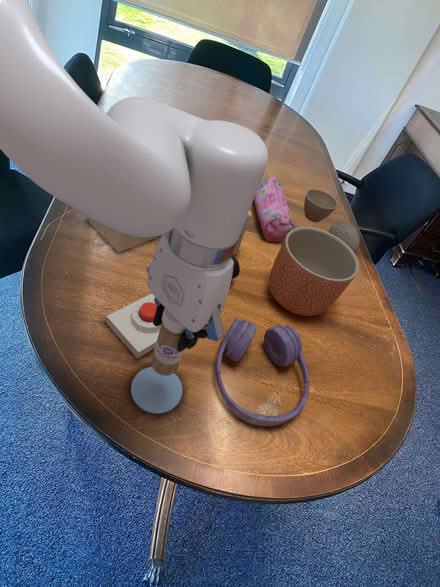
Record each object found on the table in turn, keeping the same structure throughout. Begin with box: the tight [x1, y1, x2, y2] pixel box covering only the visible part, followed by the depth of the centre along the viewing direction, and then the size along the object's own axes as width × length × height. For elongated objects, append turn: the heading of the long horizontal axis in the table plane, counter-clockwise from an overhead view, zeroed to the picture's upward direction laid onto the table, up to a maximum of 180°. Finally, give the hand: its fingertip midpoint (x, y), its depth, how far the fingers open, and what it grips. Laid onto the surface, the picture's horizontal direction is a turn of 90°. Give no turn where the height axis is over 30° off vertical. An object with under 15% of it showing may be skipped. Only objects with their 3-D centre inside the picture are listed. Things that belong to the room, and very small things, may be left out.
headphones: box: [214, 317, 311, 427], centre depth 73 cm, size 18×8×20 cm
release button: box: [139, 302, 157, 322], centre depth 73 cm, size 4×4×2 cm
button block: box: [105, 292, 161, 359], centre depth 75 cm, size 12×10×4 cm
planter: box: [268, 226, 360, 317], centre depth 88 cm, size 17×17×15 cm
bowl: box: [303, 188, 339, 223], centre depth 118 cm, size 10×10×7 cm
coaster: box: [130, 366, 183, 415], centre depth 68 cm, size 9×9×1 cm
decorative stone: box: [327, 221, 360, 255], centre depth 107 cm, size 10×8×10 cm
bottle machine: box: [88, 217, 163, 253], centre depth 88 cm, size 13×12×16 cm
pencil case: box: [253, 175, 296, 242], centre depth 110 cm, size 21×9×9 cm, turn 4°
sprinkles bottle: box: [150, 308, 186, 376], centre depth 57 cm, size 5×5×14 cm
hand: (174, 332), depth 56 cm, fingers closed on sprinkles bottle, 4 cm apart
